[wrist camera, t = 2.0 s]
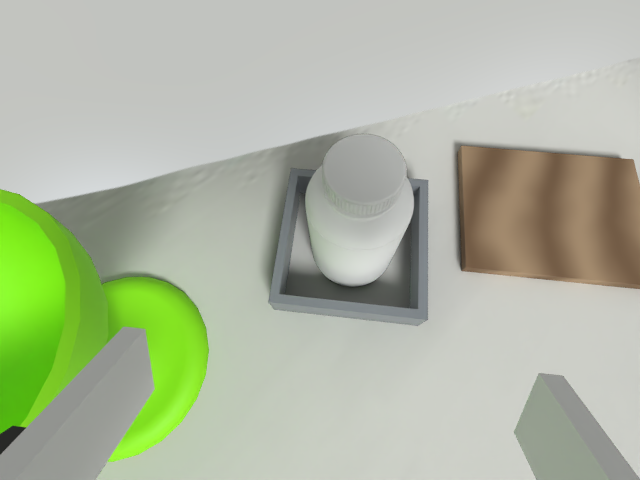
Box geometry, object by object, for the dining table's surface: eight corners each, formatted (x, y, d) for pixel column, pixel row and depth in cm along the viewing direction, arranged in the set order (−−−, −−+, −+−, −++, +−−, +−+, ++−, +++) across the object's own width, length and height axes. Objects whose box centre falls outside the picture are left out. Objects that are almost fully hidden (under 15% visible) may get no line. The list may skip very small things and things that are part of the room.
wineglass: (24, 314, 34) (-274, 252, 17) (184, 252, 36) (58, 143, 19) (42, 497, 28) (-371, 671, 12) (230, 413, 30) (110, 458, 14)
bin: (419, 197, 38) (428, 180, 34) (417, 325, 33) (427, 319, 29) (294, 185, 38) (291, 168, 35) (274, 309, 33) (268, 302, 30)
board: (624, 165, 38) (633, 159, 37) (653, 290, 33) (665, 287, 32) (457, 152, 40) (461, 145, 38) (461, 270, 34) (466, 267, 33)
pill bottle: (333, 203, 38) (336, 99, 24) (403, 234, 36) (450, 144, 22) (297, 265, 35) (277, 192, 21) (370, 302, 34) (400, 250, 20)
